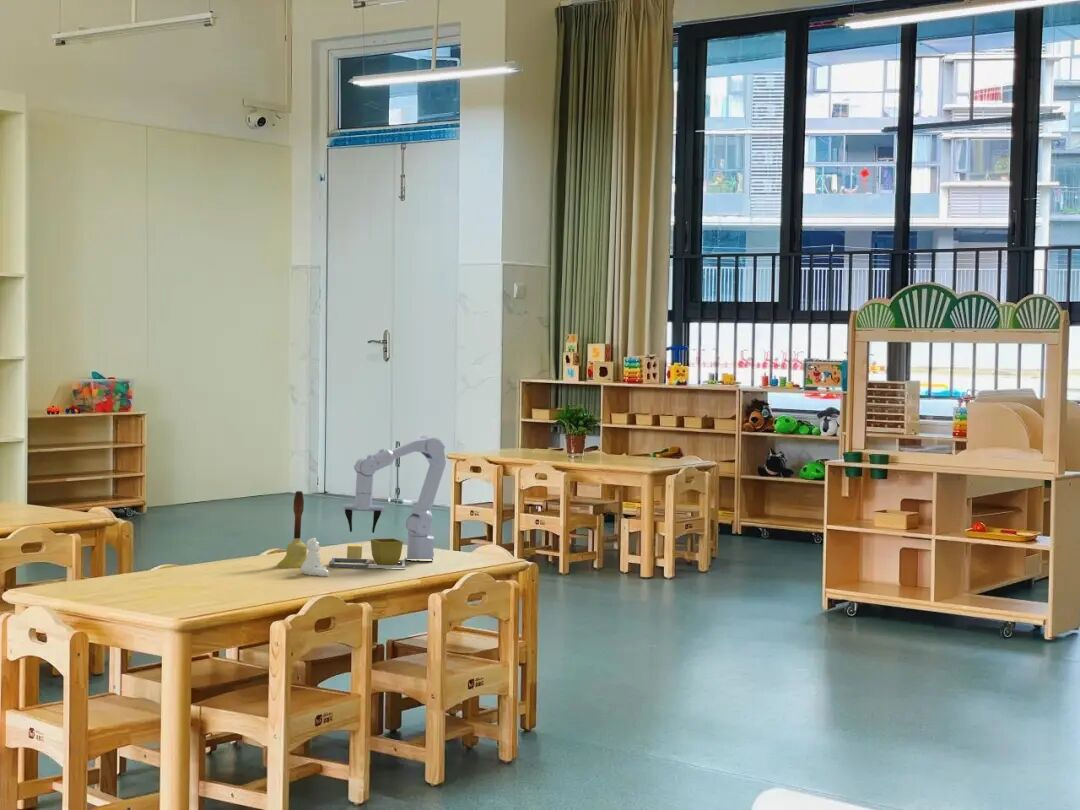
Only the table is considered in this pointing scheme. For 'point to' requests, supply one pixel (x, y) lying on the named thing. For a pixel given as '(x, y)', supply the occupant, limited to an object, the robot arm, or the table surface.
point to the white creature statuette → (313, 560)
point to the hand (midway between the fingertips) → (362, 531)
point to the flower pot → (386, 551)
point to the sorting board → (362, 564)
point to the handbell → (296, 538)
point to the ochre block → (354, 551)
